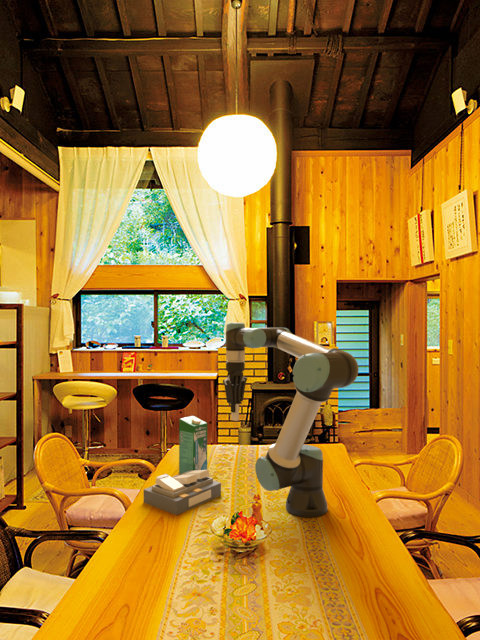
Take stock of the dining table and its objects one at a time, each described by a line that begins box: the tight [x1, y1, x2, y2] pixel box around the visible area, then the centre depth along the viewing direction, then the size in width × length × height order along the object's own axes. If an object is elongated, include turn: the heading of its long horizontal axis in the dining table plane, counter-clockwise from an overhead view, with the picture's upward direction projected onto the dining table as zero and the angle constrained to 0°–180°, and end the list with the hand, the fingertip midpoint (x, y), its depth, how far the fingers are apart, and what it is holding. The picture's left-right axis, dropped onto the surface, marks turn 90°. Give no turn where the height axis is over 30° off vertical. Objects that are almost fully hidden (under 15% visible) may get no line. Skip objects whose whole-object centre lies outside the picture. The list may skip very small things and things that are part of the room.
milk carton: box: [178, 415, 208, 475], centre depth 211 cm, size 9×9×25 cm
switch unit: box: [143, 476, 222, 516], centre depth 181 cm, size 18×24×7 cm
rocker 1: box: [155, 473, 184, 493], centre depth 176 cm, size 10×5×3 cm, turn 51°
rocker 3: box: [182, 469, 210, 479], centre depth 186 cm, size 10×5×3 cm, turn 51°
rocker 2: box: [171, 474, 197, 484], centre depth 181 cm, size 10×5×3 cm, turn 51°
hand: (235, 420), depth 187 cm, fingers closed
